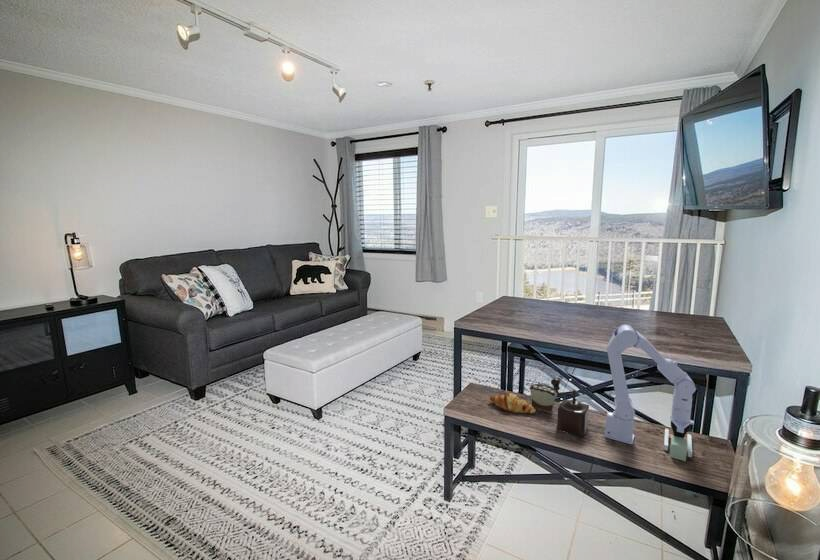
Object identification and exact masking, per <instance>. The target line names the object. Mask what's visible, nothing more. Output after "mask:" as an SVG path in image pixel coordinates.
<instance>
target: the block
mask: <svg viewBox="0 0 820 560" xmlns="http://www.w3.org/2000/svg"><path fill="white" fill-rule="evenodd" d="M673 435H674V434H673ZM673 435H672V437H671V439H670V451H669V453H670V454H669V455H670V456H669V457H670V458H672V459H675V460H680V461H683V462H686V461H687V455H688V452H687V439H685V438H686V437H685V438H681V437H677V436H673Z"/></svg>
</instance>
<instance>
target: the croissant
mask: <svg viewBox="0 0 820 560" xmlns="http://www.w3.org/2000/svg"><path fill="white" fill-rule="evenodd" d="M489 400H490V401H491V402H492V403H493V404H494V406H496V407H498V408H500V409H501V408H502V409H501V410H503V409H504V411H507V410H508V411H507V412H510V411H511V412H510V413H520V414H526V413H527V414H534V413H536V412H537V411H536V408H534V407H533V406H532V405H531V403H529V402H528V401H527V400H526V399H524V398H520V397H518V395H517V394H514V393H511V392H507V393H506V394H499V395H493V396H491V395H490V397H489Z"/></svg>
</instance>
